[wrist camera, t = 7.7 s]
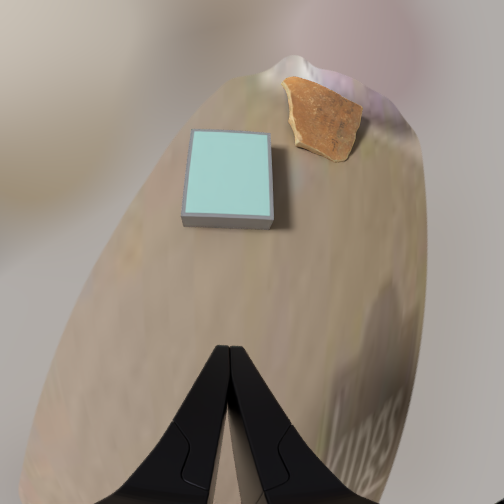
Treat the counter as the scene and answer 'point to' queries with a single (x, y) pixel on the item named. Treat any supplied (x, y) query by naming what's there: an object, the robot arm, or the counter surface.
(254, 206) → the tile
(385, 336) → the counter surface
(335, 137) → the pottery shard
